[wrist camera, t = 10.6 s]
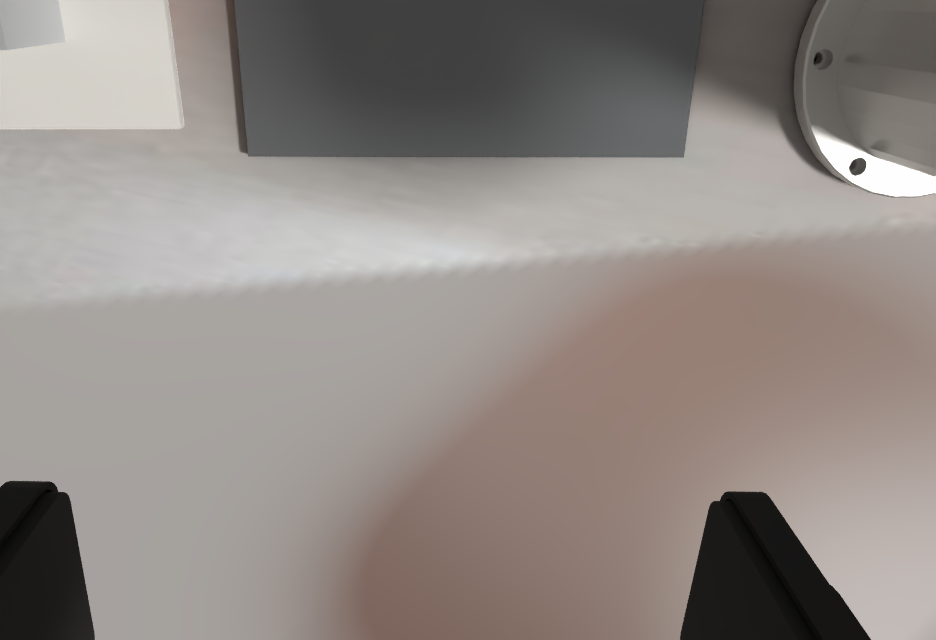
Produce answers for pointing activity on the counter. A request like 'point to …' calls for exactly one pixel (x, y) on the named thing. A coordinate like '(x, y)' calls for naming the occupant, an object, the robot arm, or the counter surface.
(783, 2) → the counter surface
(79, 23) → the square base with block
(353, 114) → the mat
